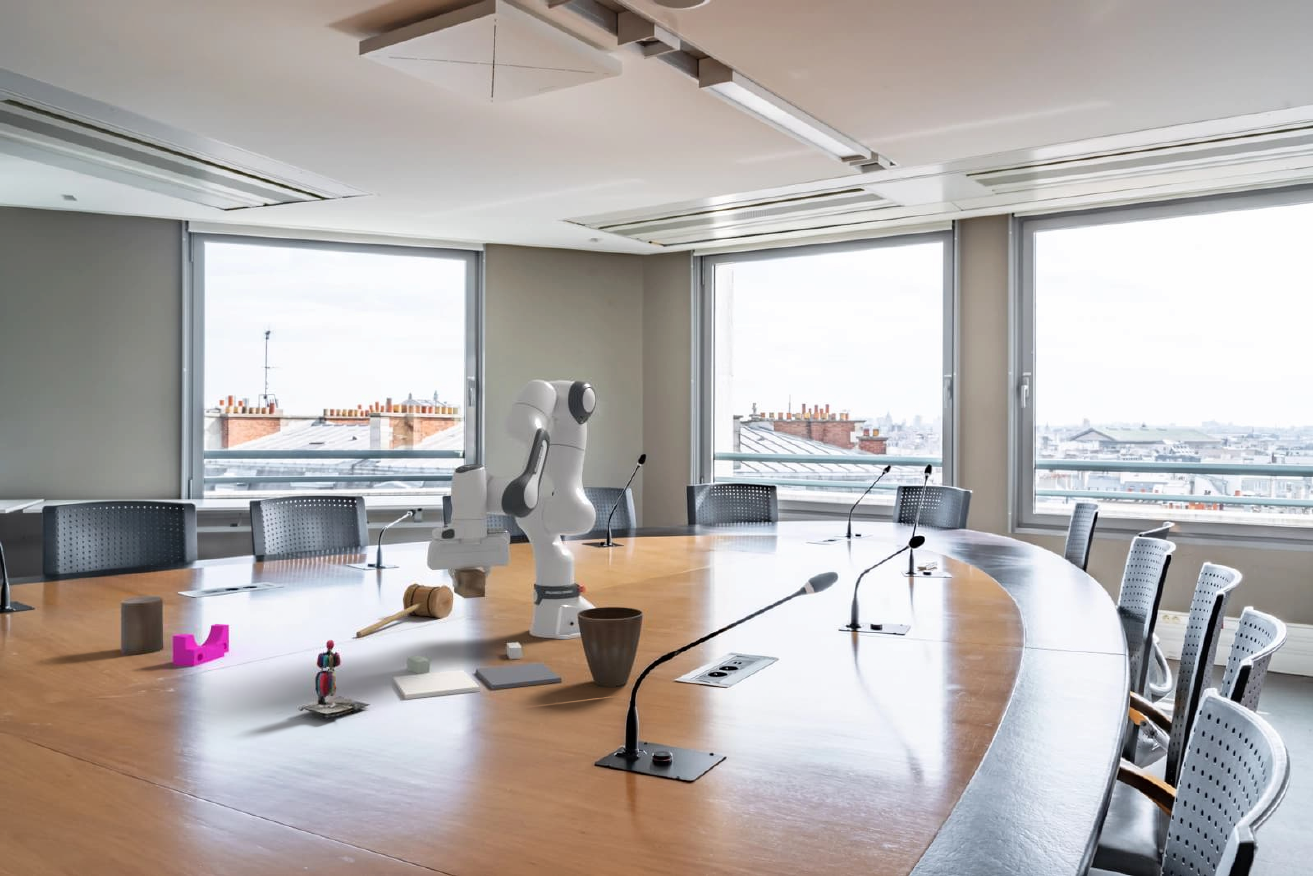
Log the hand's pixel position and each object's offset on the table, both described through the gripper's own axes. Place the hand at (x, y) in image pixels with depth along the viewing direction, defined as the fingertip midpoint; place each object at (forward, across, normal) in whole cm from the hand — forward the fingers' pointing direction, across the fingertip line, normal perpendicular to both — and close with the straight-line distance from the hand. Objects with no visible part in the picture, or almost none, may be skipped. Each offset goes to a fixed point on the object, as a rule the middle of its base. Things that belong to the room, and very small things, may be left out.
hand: (469, 585), depth 237 cm
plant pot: (+19, -25, +32) cm, 45 cm away
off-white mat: (+19, +12, +19) cm, 29 cm away
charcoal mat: (+19, -7, +19) cm, 28 cm away
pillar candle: (+19, +75, -45) cm, 90 cm away
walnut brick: (+2, 0, 0) cm, 2 cm away
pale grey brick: (+19, -12, -2) cm, 23 cm away
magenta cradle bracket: (+19, +60, -30) cm, 69 cm away
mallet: (+21, +8, -52) cm, 57 cm away
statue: (+19, +35, +30) cm, 50 cm away
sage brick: (+19, +13, +3) cm, 23 cm away
